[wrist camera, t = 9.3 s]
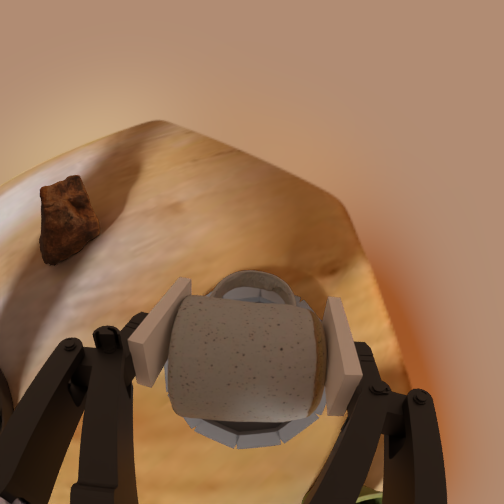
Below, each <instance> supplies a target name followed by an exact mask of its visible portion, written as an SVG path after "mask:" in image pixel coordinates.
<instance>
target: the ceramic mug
mask: <svg viewBox="0 0 504 504" xmlns="http://www.w3.org/2000/svg"><path fill="white" fill-rule="evenodd" d="M240 287H252V288H258V289H265V290H266V291H274V292H275V293H277V294H278V295H279V296H280V297H281V298H282V299H283V300H284V302H285V304H275V303H255V302H247V301H239V300H232V299H223V298H222V297H223V296H224V294H226V293H227V292H229V291H230V290H232V289H234V288H240ZM326 369H327V351H326V340H325V333H324V329H323V326H322V322H321V321H320V319H319V318H318V316H317V315H316V314H315V313H314V312H313V311H311V310H309V309H305V308H301V307H297V306H296V300H295V297H294V293H293V292H292V290H291V288H290V286H289V285H288V284H287V283H286V282H284V281H283V280H282V279H280V278H279V277H277V276H275V275H273V274H270V273H266V272H262V271H255V270H244V271H238V272H235V273H232V274H230V275H228V276H227V277H225V278H224V279H223V280H221V281H220V282H219V283H218V284H217V286H216V287H215V288H214V290H213V291H212V293H211V295H210V297H208V296H199V295H189V296H187V297H186V298H185V299H184V300H183V302H182V303H181V305H180V307H179V309H178V313H177V316H176V318H175V321H174V325H173V329H172V334H171V340H170V346H169V356H168V393H169V398H170V401H171V404H172V407H173V410H174V411H175V413H176V414H178V415H179V416H182V417H187V418H198V419H208V420H219V421H235V422H287V421H292V420H298V419H302V418H306V417H308V416H310V415H311V414H312V413H313V412H314V411H315V410H316V409H317V407H318V405H319V404H320V401H321V399H322V395H323V391H324V387H325V381H326Z"/></svg>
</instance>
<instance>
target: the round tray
mask: <svg viewBox="0 0 504 504" xmlns="http://www.w3.org/2000/svg"><path fill="white" fill-rule="evenodd" d="M211 293H212V292H210V293H209V294H207V295H206V296H208V297H210V295H211ZM294 297H295V300H296V306H297V307H301V308H305V309H309V310H311V311H313V310H312V309H311V308H310V306H309V305H308V304H307V303H306V302H305V300H302V301H301V302H300V299H301V297H298V296H296V295H294ZM222 298H223V299H232V300H239V301H247V302H255V303H275V304H285V302H284V300H283V299H282V298H281V297H280V296H279V295H278V294H277V293H275V292H274V291H266V290H265V289H258V288H252V287H240V288H234V289H232V290H230V291H229V292H227V293H226V294H224V296H223V297H222ZM299 302H300V303H299ZM313 312H314V311H313ZM314 313H315V312H314ZM318 318H319V317H318ZM319 319H320V318H319ZM320 321H321V320H320ZM321 322H322V321H321ZM164 368H165V381H166V392H168V359H167V361H166V363H165V365H164ZM168 396H169V394H168ZM325 405H326V393H325V387H324V391H323V395H322V399H321V401H320V404H319V405H318V407H317V409H316V410H315V411H314V412H313V413H312V414H311V415H310V416H308V417H306V418H302V419H298V420H292V421H287V422H235V421H219V420H208V419H198V418H187V417H183V418H184V419H185V421H186V422H187V423H188V425H189V426H190V427H191V429H192V428H194V427H196V426H197V427H196V429H195V432H197V433H200V434H202V435H204V436H206V437H208V438H210V439H212V440H215V441H217V442H219V443H222V444H224V445H226V446H229V447H231V448H233V449H234V447H235V445H236V443H237V449H247V448H258V447H267V446H275V445H281V441H280V439H281V440H282V441H283V443H286V442H287V441H288V440H290V439H291V438H293V437H294V436H296V435H297V434H298V433H300V432H301V431H302V430H304V429H305V428H306V427H308V426H309V425H310V424H312V423H313V422H314V421H316V420H317V419H318V418H319V417H318V416H317V415H316V414H319V415H321V414H322V412H323V410H324V407H325ZM315 413H316V414H315Z"/></svg>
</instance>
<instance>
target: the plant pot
mask: <svg viewBox="0 0 504 504" xmlns="http://www.w3.org/2000/svg"><path fill="white" fill-rule="evenodd" d="M310 491H311V490H310ZM310 491H309V492H310ZM309 492H308V493H307V494H306V495H305V496H304V498H303V500H302V503H301V504H303V502H304V501H305V499H306V498H307V496H308V494H309ZM382 495H383V492H380V491H376V490H373V489H371V488H368V487H366V486H364V485H363V487H362V489H361V492H360V494H359V497H358V499H357V501H356V503H355V504H382Z"/></svg>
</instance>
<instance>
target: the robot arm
mask: <svg viewBox="0 0 504 504" xmlns="http://www.w3.org/2000/svg"><path fill="white" fill-rule="evenodd" d="M189 295H191V279H189V278H183V277H179V278H178V279H177V281H176V282H175V283H174V284H173V285H172V286H171V288H170V289H169V290H168V291H167V292H166V294H165V295H164V296H163V297H162V298H161V300H160V301H159V302H158V303H157V304H156V306H155V307H154V308H153V309H152V310H151V312H150V313H144V312H140V313H138V314H137V315H135V316H133V317H132V319H131V320H130V321H129V322H128V323H127V324H126V325H125V327H124V328H123V329H122V330H121V331H119V330H118V329H117V328H116V327H114V326H102V327H99V328H97V329H96V330H95V331H94V332H93V338H94V342H95V346H96V348H90V347H83V345H82V342H81V341H80V340H79V339H77V338H66V339H64V340H62V341H61V342H60V343H59V344H58V346H57V347H56V349H55V350H54V351H53V353H52V354H51V355H50V357H49V358H48V360H47V361H46V362H45V364H44V365H43V367H42V368H41V370H40V371H39V373H38V374H37V376H36V377H35V379H34V380H33V382H32V383H31V385H30V386H29V388H28V389H27V391H26V392H25V394H24V396H23V397H22V399H21V400H20V402H19V404H18V405H17V407H16V409H15V410H14V412H13V404H12V399H11V394H10V391H9V388H8V385H7V382H6V379H5V377H4V375H3V373H2V371H1V370H0V504H48V502H49V499H50V496H51V493H52V490H53V487H54V484H55V481H56V479H57V476H58V473H59V470H60V468H61V465H62V462H63V460H64V457H65V454H66V452H67V449H68V447H69V444H70V442H71V439H72V437H73V435H74V432H75V430H76V428H77V425H78V423H79V421H80V418H81V416H82V414H83V412H84V418H83V425H82V434H81V444H80V456H79V472H78V481H77V483H75V484H73V485H72V487H71V492H70V504H138V497H137V488H136V477H135V464H134V446H133V385H132V380H133V378H134V377H135V376H136V380H137V383H138V384H141V385H144V386H148V387H151V388H152V386H153V384H154V382H155V381H156V379H157V377H158V375H159V373H160V372H161V370H162V368H163V366H164V365H165V363H166V361H167V359H168V356H169V346H170V340H171V334H172V329H173V325H174V321H175V318H176V316H177V313H178V309H179V307H180V305H181V303H182V302H183V300H184V299H185V298H186V297H187V296H189ZM322 326H323V329H324V333H325V340H326V351H327V369H326V381H325V393H326V404H327V415H328V416H344V414H345V412H346V410H347V411H348V417H347V419H346V421H345V423H344V424H343V426H342V428H341V432H340V434H339V437H338V439H337V441H336V443H335V445H334V447H333V449H332V451H331V453H330V455H329V457H328V459H327V461H326V463H325V465H324V467H323V469H322V471H321V473H320V475H319V477H318V478H317V480H316V482H315V484H314V486H313V487H312V489H311V491H310V492H309V494H308V496H307V498H306V499H305V501H304V502H303V504H355V503H356V501H357V499H358V497H359V494H360V492H361V489H362V487H363V484H364V482H365V479H366V477H367V474H368V471H369V469H370V466H371V463H372V460H373V457H374V454H375V451H376V448H377V445H378V442H379V438H380V435H381V434H384V479H383V495H382V504H447V490H446V478H445V468H444V460H443V452H442V445H441V440H440V433H439V428H438V422H437V417H436V412H435V408H434V403H433V399H432V397H431V395H430V394H429V393H428V392H426V391H425V390H422V389H413V390H411V391H410V392H409V393H408V395H403V394H399V393H395V392H392V391H391V389H390V387H389V385H388V384H386V383H385V382H383V381H381V378H380V375H379V372H378V369H377V366H376V362H375V360H374V357H373V354H372V351H371V348H370V347H369V346H368V345H367V344H366V343H365V342H354V341H353V338H352V334H351V331H350V327H349V324H348V321H347V317H346V314H345V311H344V308H343V305H342V301H341V298H338V297H328V299H327V303H326V307H325V312H324V316H323V320H322ZM84 409H85V411H84Z"/></svg>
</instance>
